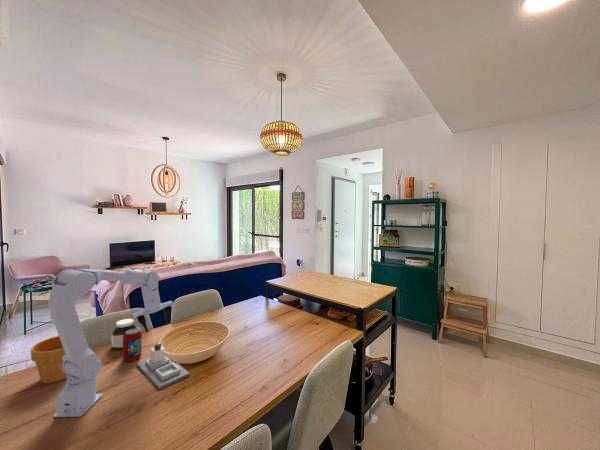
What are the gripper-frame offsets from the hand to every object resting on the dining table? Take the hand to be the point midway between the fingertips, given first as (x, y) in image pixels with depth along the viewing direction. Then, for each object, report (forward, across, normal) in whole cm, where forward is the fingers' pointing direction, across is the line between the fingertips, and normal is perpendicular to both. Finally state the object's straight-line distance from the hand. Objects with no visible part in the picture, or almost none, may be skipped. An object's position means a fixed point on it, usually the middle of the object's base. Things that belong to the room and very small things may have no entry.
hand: (157, 327), depth 106 cm
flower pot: (+10, +33, -8) cm, 36 cm away
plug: (+13, +3, +6) cm, 14 cm away
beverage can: (+14, +11, -6) cm, 19 cm away
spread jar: (+16, +11, -23) cm, 30 cm away
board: (+13, +2, +11) cm, 17 cm away
